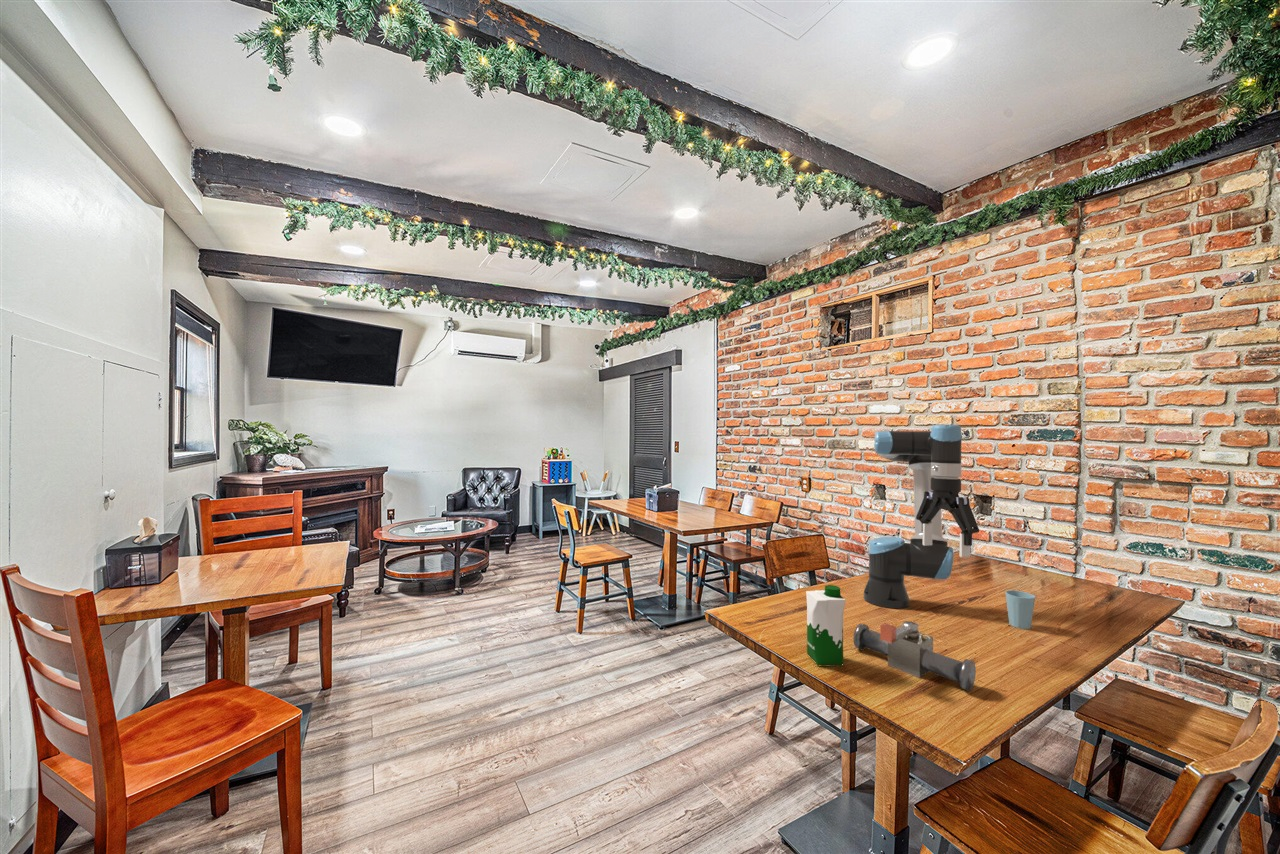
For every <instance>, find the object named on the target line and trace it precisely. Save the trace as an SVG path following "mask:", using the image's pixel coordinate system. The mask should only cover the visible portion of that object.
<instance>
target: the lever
mask: <svg viewBox="0 0 1280 854" xmlns="http://www.w3.org/2000/svg"><path fill="white" fill-rule="evenodd" d="M918 631H919V624H918V623H916V622H914V621H906V620H905V621H903V622H902V625H900V626H898V627H897V626H896V625H893V624H889V623H886V622H884V623H882V624H881V625H880V632H879V633H880V639H881V640H883V641H885V642H887V643H890V644H892V643H894V642H896V641H898V640H900V639H901V638H903V637H905V636H907V635H909V634H910V633H913V634H916V633H918Z"/></svg>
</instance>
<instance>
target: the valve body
mask: <svg viewBox="0 0 1280 854" xmlns="http://www.w3.org/2000/svg"><path fill="white" fill-rule="evenodd" d="M853 645H854V647H855V648H856V649H859V650H861V651H862V650H865V649H869V650H871V651H873V652H877V653H879V654H882V655H883V656H886V657H887V666H888V667H890V666H891V668H893V669H895V668H896V670H898V669H899V670H898V671H900V670H901V671H900V672H903V673H905V672H906V673H905V674H908V675H910V676H912V677H913V676H914V677H916V678H919V679H921V678H922V677H924V675H926V674H927V673H932V674H935V675H937V676H940V677H942V678H945V679H948V680H950V681H953V682H956V683H958V684H959V686H960V688H961V689H963V690H965V691H967V692H970V691H971V690H972V689H973V687H974V685H975V681H976V672H977V670H976V668H977V667H976V664H975V661H974V660H970V659H967V658H966V659H964V660H963V661H960V660H957V659H954V658H952V657H949V656H946V655H943V654H940V653H937V652H934V637H933V636H931V635H929V634H928V635H927V634H925V633H922V632H920V631H919V630H918V633H916V634H913V633H910V634H909V635H907V636H905V637H903V638H901V639H900V640H898V641H896V642H894V643H892V644H890V643H887V642H885V641H883V640H881V639H880V632H877V631H874V630H871V629H870V627H869V626H868V625H867V624H864V623H859V624H857V626H856V627H855V629H854V633H853Z"/></svg>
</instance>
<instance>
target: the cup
mask: <svg viewBox="0 0 1280 854" xmlns="http://www.w3.org/2000/svg"><path fill="white" fill-rule="evenodd" d="M1005 598H1006V600H1005V602H1006V607H1007V609H1006V610H1007V615H1008V616H1007V617H1008V622H1009V625H1010V626H1011V627H1013V628H1016V629H1020V630H1030V629H1031V628H1032V623H1033V622H1032V621H1033V615H1034V610H1035V607H1034V606H1035V603H1036V596H1035V595H1034V594H1032V593H1029V592H1025V591H1021V590H1016V589H1015V590H1013V589H1007V590H1005Z"/></svg>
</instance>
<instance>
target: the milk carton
mask: <svg viewBox="0 0 1280 854" xmlns="http://www.w3.org/2000/svg"><path fill="white" fill-rule="evenodd" d="M805 593H806V596H805V597H806V654H808V655H809V656H810V657H811V658H812V659H813V660H814V661H815V662H816V663H815V662H814V661H813V660H812V659H811V658H810V657H809V656H808V655H807V656H808V657H809V658H810V659H811V660H812V661H813V662H814V663H815V664H817V665H842V664H843V665H844V612H845V606H846V599H845V598H844V597H843V596H842V595H841V587H839V586H838V585H835V584H834V585H832V584H827V585H824V589H822V590H817V589H816V590H806V591H805ZM817 665H816V666H817Z"/></svg>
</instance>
